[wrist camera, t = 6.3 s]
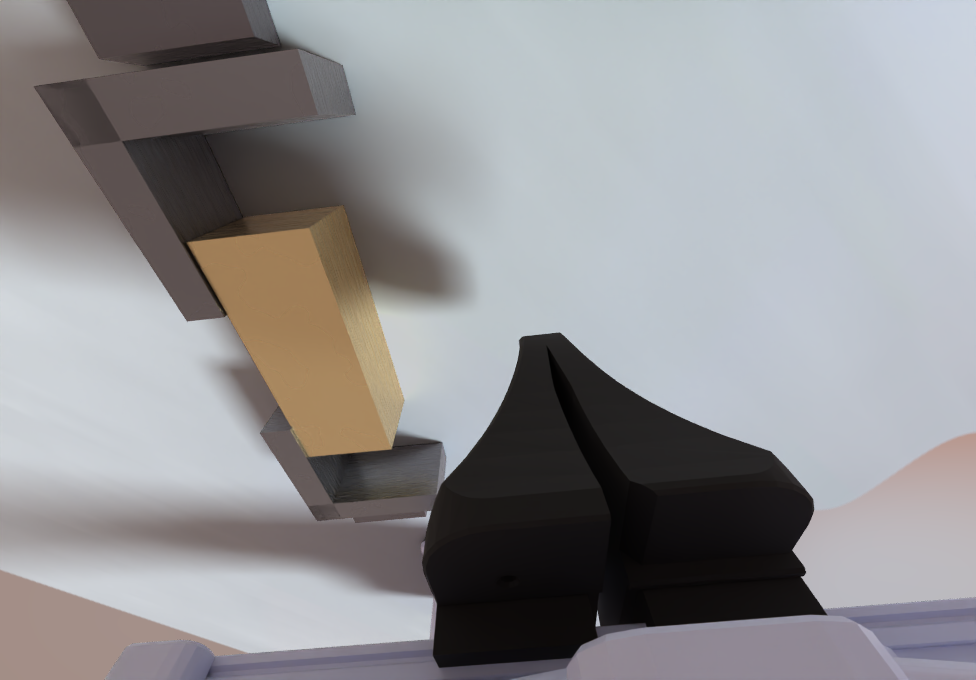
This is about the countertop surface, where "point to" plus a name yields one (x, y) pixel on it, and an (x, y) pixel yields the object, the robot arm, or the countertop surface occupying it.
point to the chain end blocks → (216, 187)
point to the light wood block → (308, 324)
